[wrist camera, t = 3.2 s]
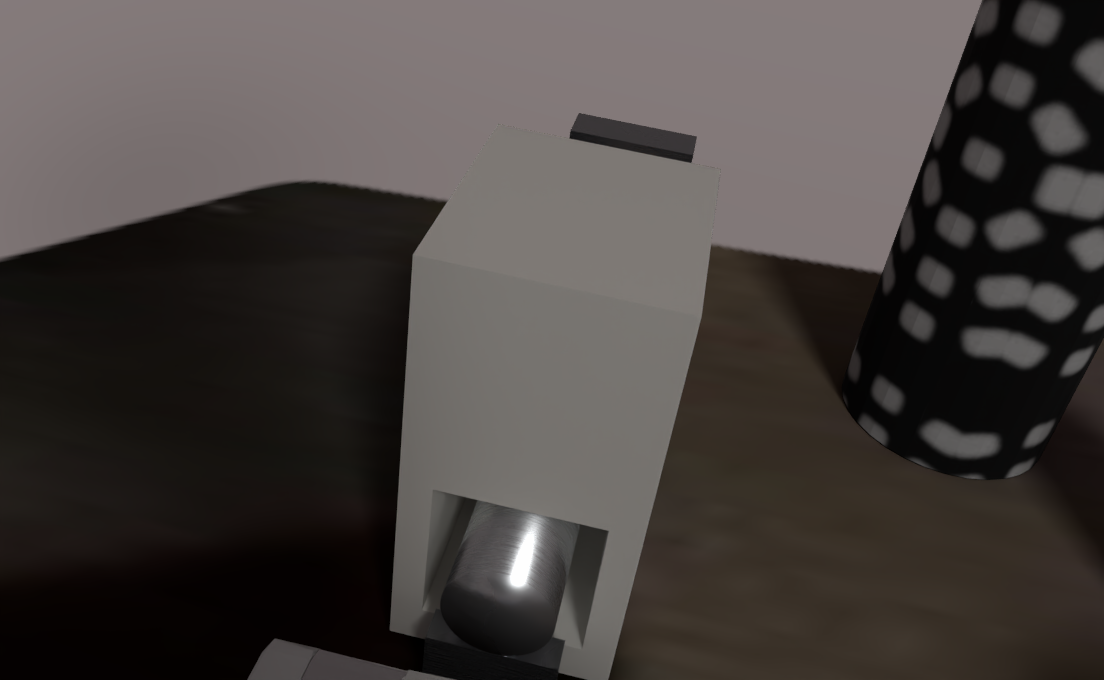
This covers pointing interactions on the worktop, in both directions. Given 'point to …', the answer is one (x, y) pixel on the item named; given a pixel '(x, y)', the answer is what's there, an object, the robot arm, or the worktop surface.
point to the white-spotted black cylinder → (995, 252)
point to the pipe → (521, 535)
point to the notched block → (549, 365)
